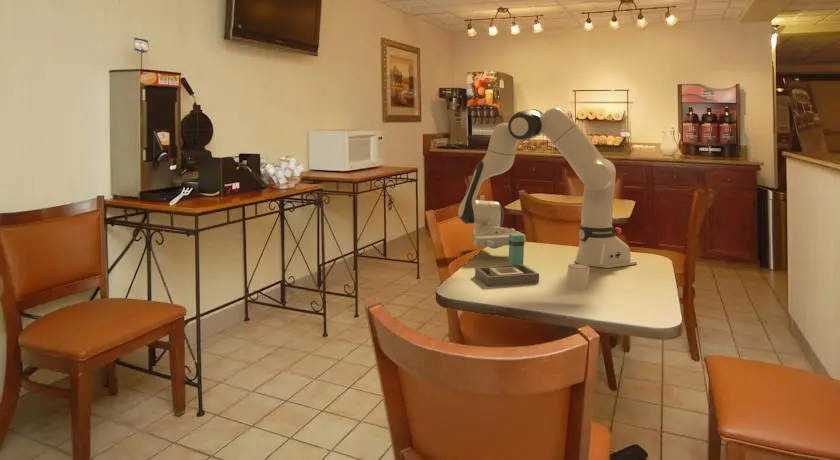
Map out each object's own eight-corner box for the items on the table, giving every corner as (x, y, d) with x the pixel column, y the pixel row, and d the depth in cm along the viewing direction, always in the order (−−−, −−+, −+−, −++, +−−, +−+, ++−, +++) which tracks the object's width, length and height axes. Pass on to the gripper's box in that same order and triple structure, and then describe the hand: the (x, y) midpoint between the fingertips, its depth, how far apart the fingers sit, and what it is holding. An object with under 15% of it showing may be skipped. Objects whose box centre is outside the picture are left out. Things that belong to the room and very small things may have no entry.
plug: (518, 267, 206) (519, 233, 204) (523, 270, 202) (524, 235, 200) (508, 268, 205) (509, 233, 203) (512, 271, 201) (513, 236, 199)
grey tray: (523, 272, 200) (523, 264, 199) (538, 282, 187) (539, 273, 187) (475, 275, 196) (475, 267, 195) (487, 286, 183) (487, 277, 183)
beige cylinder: (590, 290, 178) (591, 269, 177) (567, 289, 179) (568, 268, 178) (588, 284, 184) (589, 263, 183) (566, 283, 186) (567, 263, 185)
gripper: (468, 230, 223) (480, 237, 209) (517, 228, 227) (531, 234, 214) (468, 246, 224) (480, 253, 210) (516, 243, 228) (530, 250, 215)
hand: (506, 244), depth 212 cm, fingers open, 8 cm apart
